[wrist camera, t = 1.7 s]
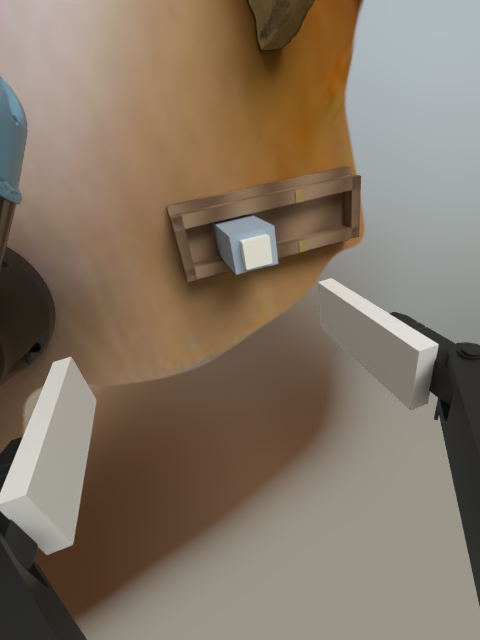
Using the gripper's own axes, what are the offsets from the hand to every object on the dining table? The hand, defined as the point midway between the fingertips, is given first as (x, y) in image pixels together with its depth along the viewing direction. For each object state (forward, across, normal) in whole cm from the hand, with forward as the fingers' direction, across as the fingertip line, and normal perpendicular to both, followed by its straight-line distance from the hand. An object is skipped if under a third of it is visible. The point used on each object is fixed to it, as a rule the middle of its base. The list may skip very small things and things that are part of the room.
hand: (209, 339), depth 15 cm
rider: (+19, +7, 0) cm, 20 cm away
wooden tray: (+20, +11, 0) cm, 23 cm away
